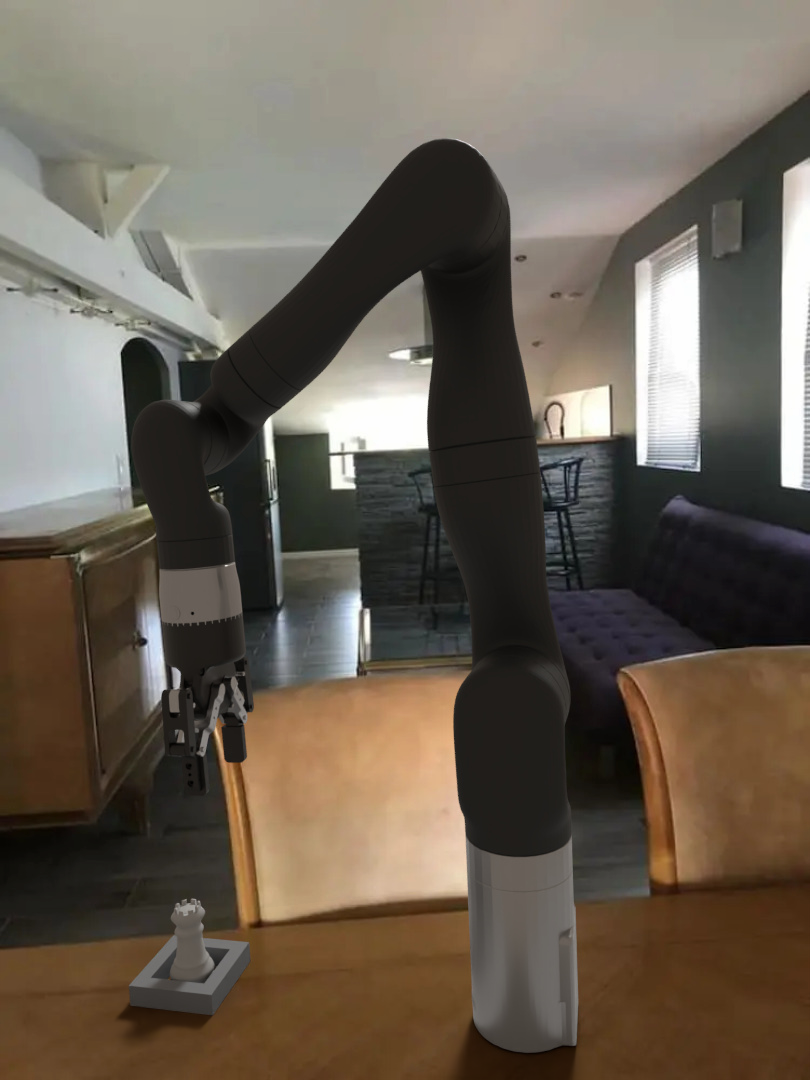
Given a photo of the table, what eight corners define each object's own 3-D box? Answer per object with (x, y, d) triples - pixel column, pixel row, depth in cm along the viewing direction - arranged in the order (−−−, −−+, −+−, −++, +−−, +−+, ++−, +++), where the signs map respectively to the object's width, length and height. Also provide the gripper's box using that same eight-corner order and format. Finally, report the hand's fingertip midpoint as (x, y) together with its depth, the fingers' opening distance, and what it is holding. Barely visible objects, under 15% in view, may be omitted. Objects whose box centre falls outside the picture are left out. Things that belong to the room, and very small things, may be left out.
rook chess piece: (159, 990, 81) (153, 912, 80) (191, 965, 85) (185, 890, 84) (195, 1002, 79) (189, 921, 78) (225, 975, 83) (220, 898, 82)
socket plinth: (250, 960, 85) (249, 942, 85) (212, 1015, 77) (211, 994, 77) (175, 953, 87) (173, 935, 87) (130, 1005, 79) (128, 985, 79)
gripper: (204, 626, 72) (221, 808, 73) (267, 598, 86) (280, 751, 87) (126, 628, 73) (144, 806, 75) (200, 600, 87) (214, 751, 89)
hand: (217, 776), depth 81 cm, fingers open, 8 cm apart
